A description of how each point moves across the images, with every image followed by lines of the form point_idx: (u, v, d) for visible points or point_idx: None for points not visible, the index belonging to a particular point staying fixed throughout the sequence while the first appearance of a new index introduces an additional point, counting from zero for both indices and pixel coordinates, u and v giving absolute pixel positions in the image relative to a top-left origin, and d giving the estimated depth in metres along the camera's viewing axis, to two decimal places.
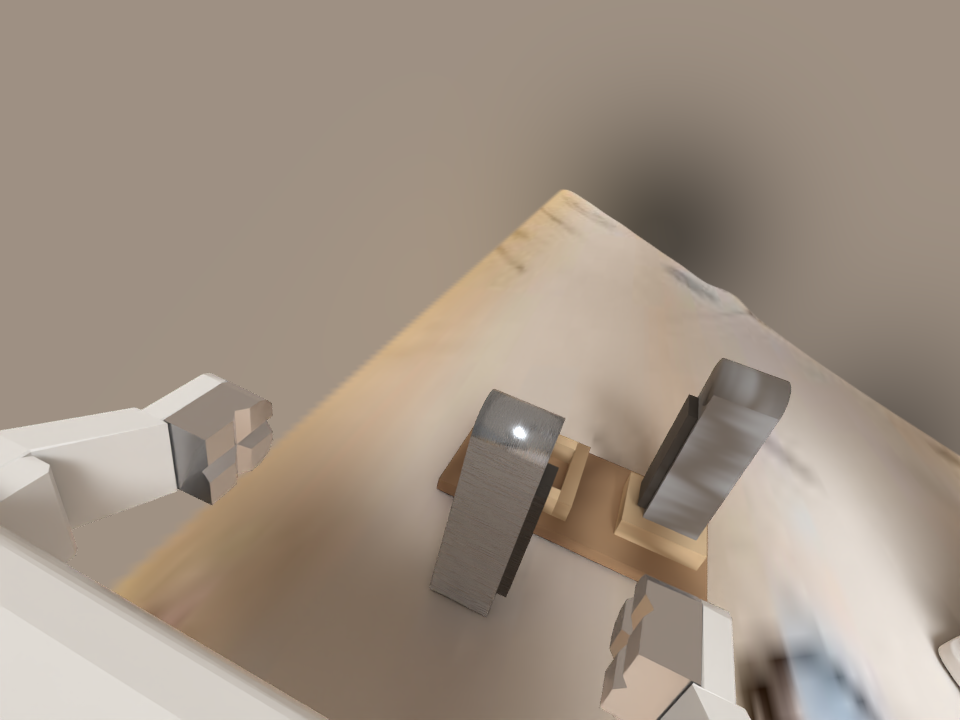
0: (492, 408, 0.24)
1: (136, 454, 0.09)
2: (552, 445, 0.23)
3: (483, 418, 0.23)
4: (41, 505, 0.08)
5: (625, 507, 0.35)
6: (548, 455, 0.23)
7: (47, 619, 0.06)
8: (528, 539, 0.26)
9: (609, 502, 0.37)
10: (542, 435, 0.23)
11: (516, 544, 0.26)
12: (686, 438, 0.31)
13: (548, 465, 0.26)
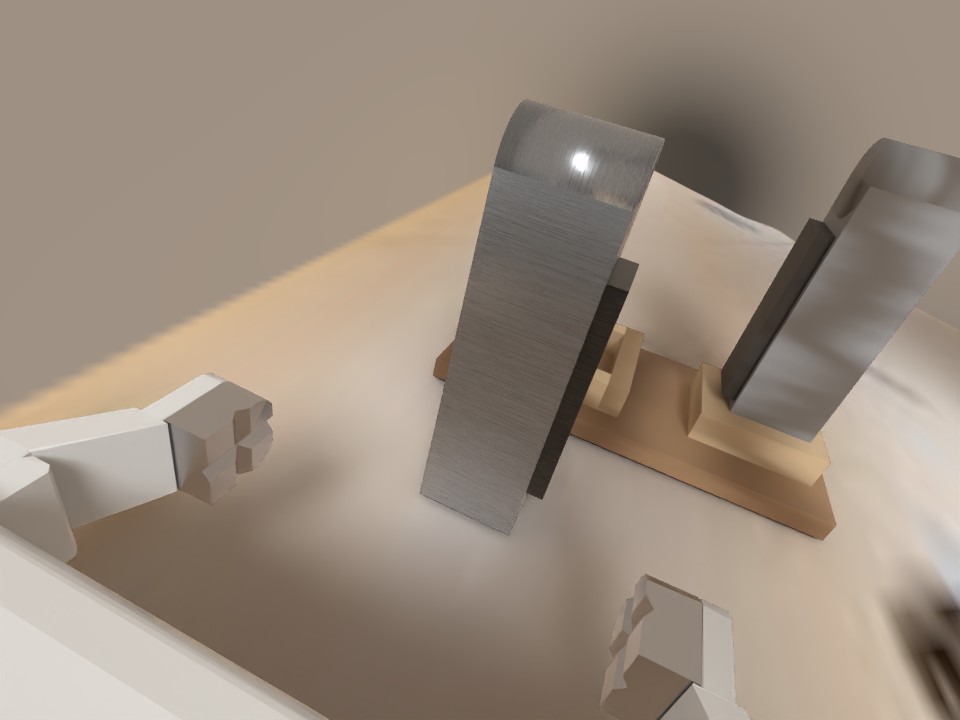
0: (534, 113, 0.13)
1: (136, 454, 0.09)
2: (649, 165, 0.12)
3: (518, 128, 0.13)
4: (41, 505, 0.08)
5: (703, 399, 0.25)
6: (642, 183, 0.12)
7: (47, 618, 0.06)
8: (588, 382, 0.15)
9: (674, 401, 0.27)
10: (630, 149, 0.12)
11: (565, 395, 0.16)
12: (812, 273, 0.21)
13: (621, 259, 0.15)
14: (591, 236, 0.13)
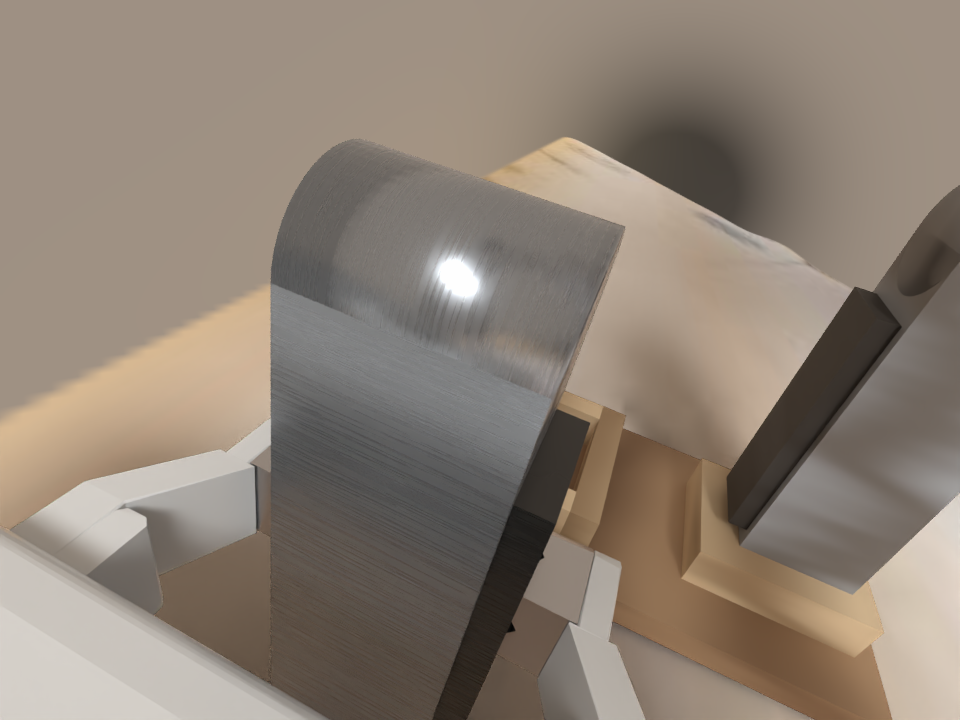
0: (349, 174, 0.06)
1: (223, 499, 0.09)
2: (584, 299, 0.05)
3: (311, 207, 0.06)
4: (138, 560, 0.08)
5: (703, 525, 0.18)
6: (567, 341, 0.05)
7: (47, 620, 0.06)
8: (496, 641, 0.08)
9: (665, 515, 0.20)
10: (544, 262, 0.06)
11: (462, 651, 0.09)
12: (863, 375, 0.14)
13: (558, 416, 0.09)
14: (471, 431, 0.06)
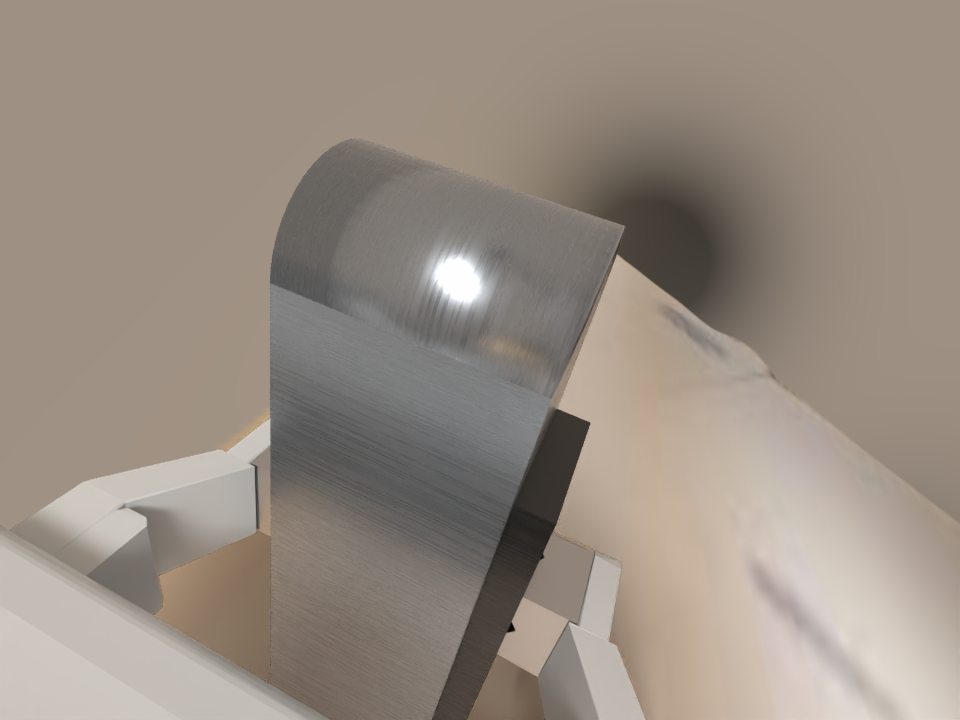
0: (348, 174, 0.06)
1: (223, 499, 0.09)
2: (584, 299, 0.05)
3: (310, 206, 0.06)
4: (138, 560, 0.08)
5: None
6: (567, 341, 0.05)
7: (48, 619, 0.06)
8: (496, 642, 0.08)
9: None
10: (544, 262, 0.06)
11: (462, 651, 0.09)
12: None
13: (559, 416, 0.09)
14: (471, 431, 0.06)
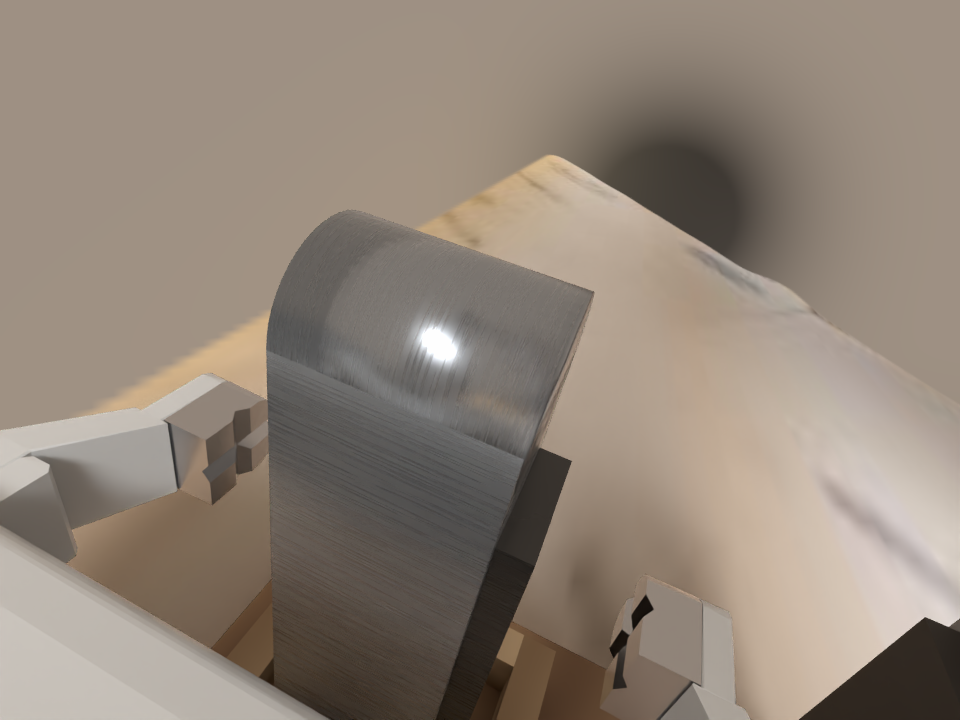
0: (337, 250, 0.07)
1: (136, 454, 0.09)
2: (551, 369, 0.06)
3: (302, 282, 0.07)
4: (41, 505, 0.08)
5: None
6: (536, 408, 0.06)
7: (48, 620, 0.06)
8: (485, 670, 0.09)
9: None
10: (514, 334, 0.06)
11: (454, 678, 0.09)
12: None
13: (541, 455, 0.09)
14: (452, 484, 0.07)
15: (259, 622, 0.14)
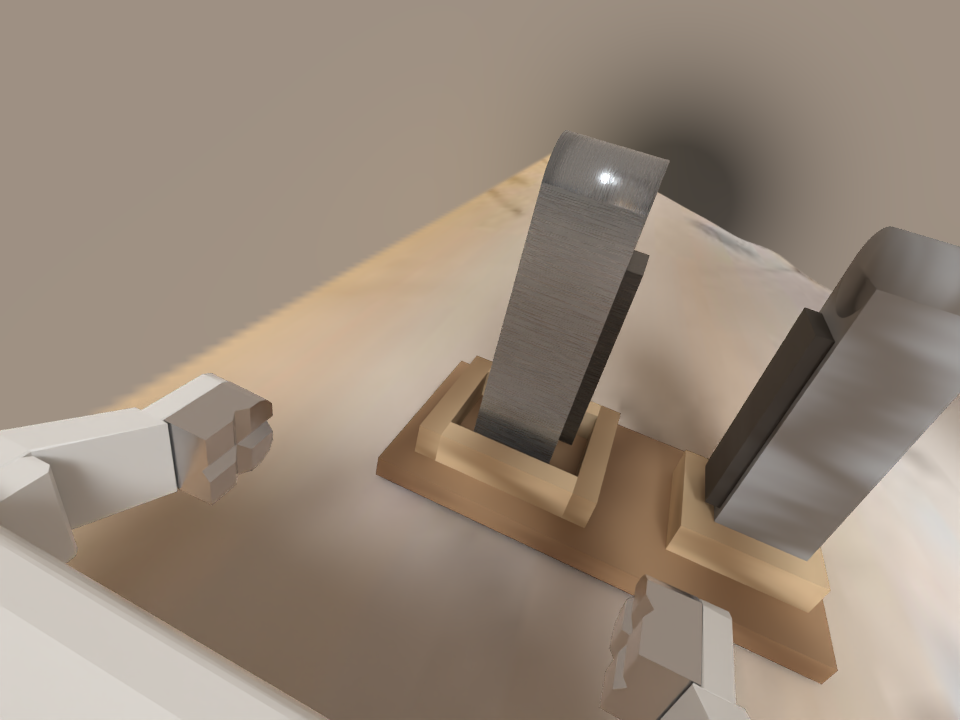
0: (572, 142, 0.17)
1: (136, 454, 0.09)
2: (658, 181, 0.16)
3: (560, 153, 0.17)
4: (41, 505, 0.08)
5: (684, 505, 0.21)
6: (653, 195, 0.16)
7: (47, 619, 0.06)
8: (610, 347, 0.19)
9: (653, 498, 0.24)
10: (645, 169, 0.17)
11: (592, 358, 0.20)
12: (807, 380, 0.17)
13: (635, 252, 0.20)
14: (615, 234, 0.17)
15: (454, 386, 0.25)
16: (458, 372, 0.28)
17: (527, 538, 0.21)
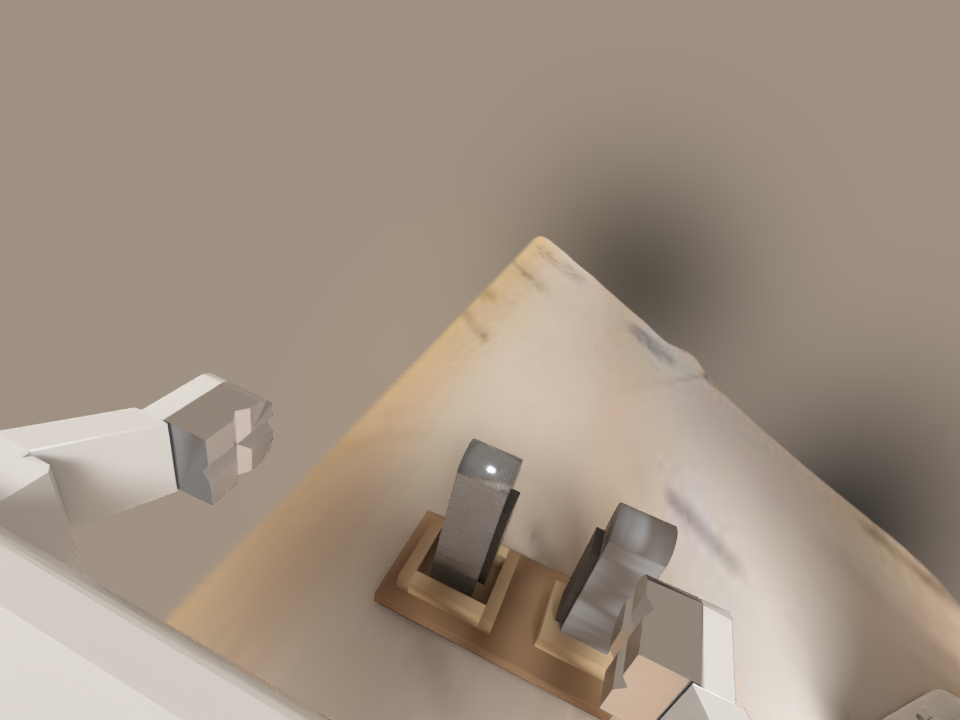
0: (471, 454, 0.34)
1: (136, 454, 0.09)
2: (512, 479, 0.34)
3: (465, 460, 0.34)
4: (41, 505, 0.08)
5: (544, 621, 0.39)
6: (509, 486, 0.34)
7: (48, 619, 0.06)
8: (498, 543, 0.37)
9: (534, 610, 0.41)
10: (505, 472, 0.34)
11: (490, 546, 0.37)
12: (591, 571, 0.35)
13: (512, 491, 0.37)
14: (493, 499, 0.34)
15: (420, 542, 0.42)
16: (425, 520, 0.46)
17: (456, 640, 0.38)
